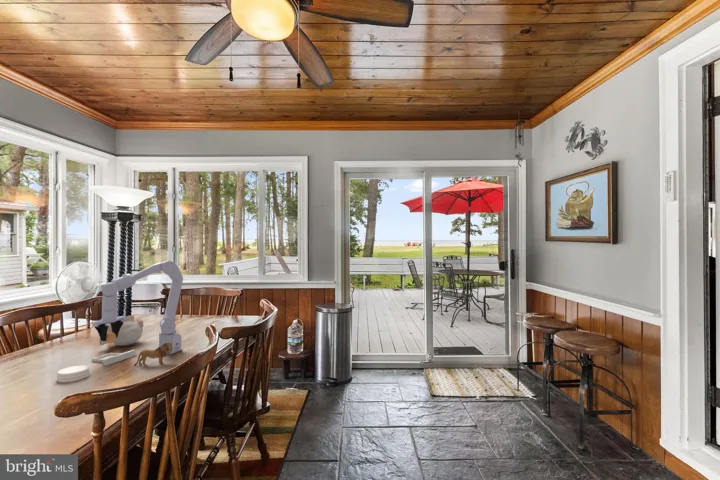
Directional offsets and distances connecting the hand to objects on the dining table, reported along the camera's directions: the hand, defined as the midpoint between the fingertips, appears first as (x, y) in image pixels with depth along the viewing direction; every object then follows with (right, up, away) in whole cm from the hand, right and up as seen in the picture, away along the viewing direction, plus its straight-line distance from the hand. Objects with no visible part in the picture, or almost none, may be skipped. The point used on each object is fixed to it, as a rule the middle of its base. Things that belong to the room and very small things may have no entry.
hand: (109, 339), depth 163 cm
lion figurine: (+24, -9, -6) cm, 26 cm away
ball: (0, -2, 0) cm, 2 cm away
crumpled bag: (-9, -9, +23) cm, 27 cm away
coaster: (+1, -9, -22) cm, 24 cm away
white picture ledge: (+6, -9, -1) cm, 11 cm away
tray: (0, -9, 0) cm, 9 cm away
